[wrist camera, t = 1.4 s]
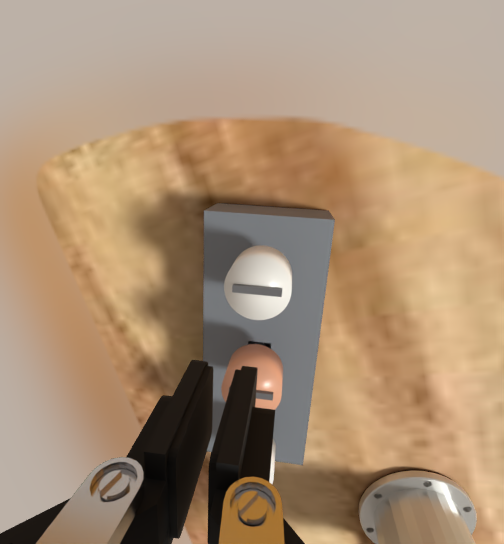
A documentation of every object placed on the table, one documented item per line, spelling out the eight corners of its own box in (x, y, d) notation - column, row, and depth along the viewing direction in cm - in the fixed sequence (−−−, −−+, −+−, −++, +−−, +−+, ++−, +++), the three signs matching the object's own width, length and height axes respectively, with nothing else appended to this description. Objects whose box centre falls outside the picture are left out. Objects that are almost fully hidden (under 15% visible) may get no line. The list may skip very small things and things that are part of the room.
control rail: (301, 426, 37) (302, 465, 33) (214, 415, 38) (202, 450, 34) (328, 210, 30) (334, 219, 25) (218, 203, 31) (203, 210, 26)
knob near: (290, 289, 28) (288, 325, 22) (238, 284, 29) (222, 318, 22) (294, 238, 27) (294, 261, 21) (240, 233, 27) (224, 255, 21)
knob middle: (282, 371, 31) (278, 423, 25) (234, 365, 31) (219, 415, 25) (286, 328, 29) (283, 372, 23) (236, 322, 30) (221, 364, 24)
